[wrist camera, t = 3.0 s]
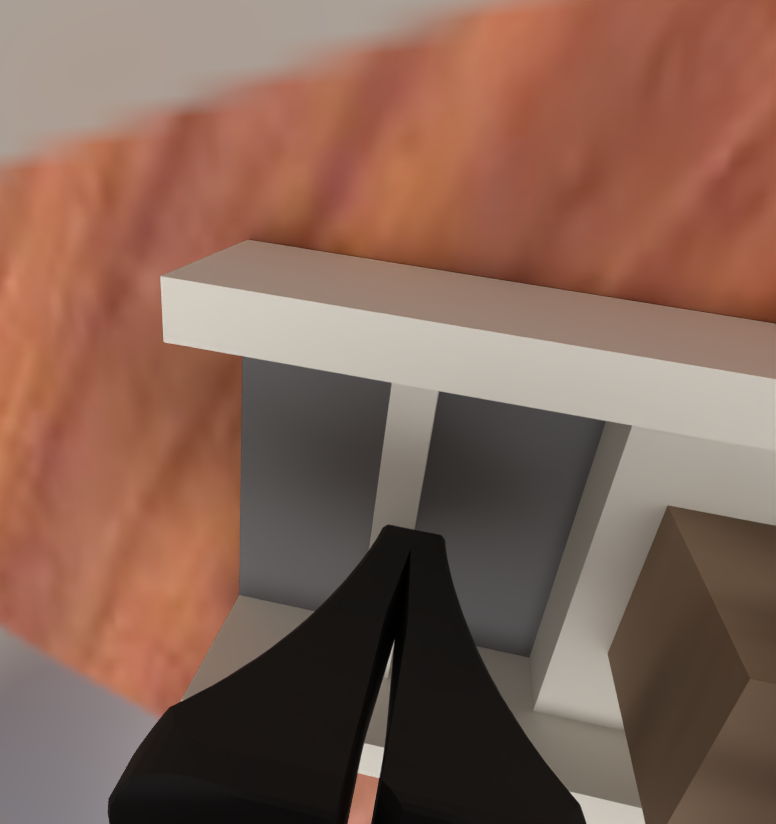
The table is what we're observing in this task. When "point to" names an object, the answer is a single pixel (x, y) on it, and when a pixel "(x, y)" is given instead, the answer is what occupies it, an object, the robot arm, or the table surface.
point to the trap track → (477, 463)
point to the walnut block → (702, 671)
